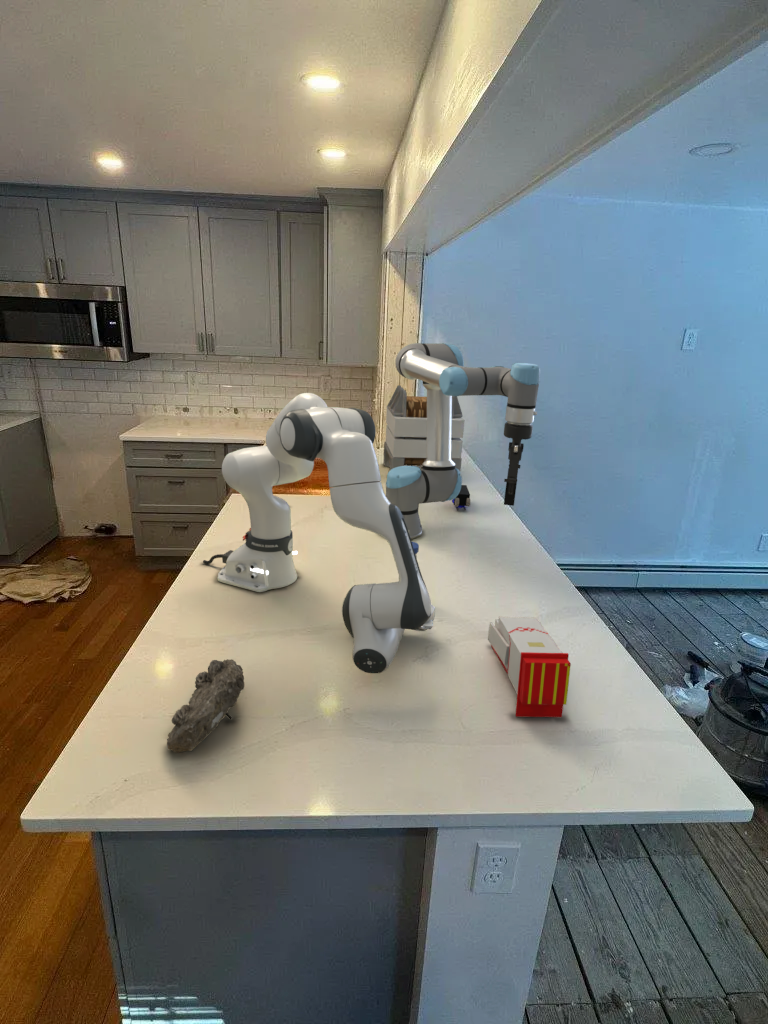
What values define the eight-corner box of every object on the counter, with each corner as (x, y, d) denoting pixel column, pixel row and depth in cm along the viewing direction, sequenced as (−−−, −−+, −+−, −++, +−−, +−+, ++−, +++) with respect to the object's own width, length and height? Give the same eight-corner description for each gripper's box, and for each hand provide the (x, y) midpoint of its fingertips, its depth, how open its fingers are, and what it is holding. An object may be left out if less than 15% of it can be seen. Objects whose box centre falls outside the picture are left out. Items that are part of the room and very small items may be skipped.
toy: (534, 602, 136) (579, 659, 107) (529, 653, 139) (572, 723, 110) (484, 601, 136) (516, 658, 107) (480, 652, 139) (510, 722, 109)
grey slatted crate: (382, 463, 289) (386, 382, 275) (445, 464, 293) (451, 384, 279) (390, 482, 257) (394, 392, 243) (460, 483, 261) (468, 394, 247)
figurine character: (470, 515, 225) (465, 499, 238) (472, 498, 221) (467, 483, 235) (453, 515, 224) (449, 499, 238) (455, 497, 221) (451, 482, 234)
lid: (400, 554, 149) (400, 548, 148) (397, 546, 153) (398, 541, 153) (420, 554, 149) (420, 548, 149) (416, 546, 154) (417, 541, 154)
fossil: (192, 660, 117) (244, 628, 112) (224, 691, 120) (276, 661, 115) (142, 746, 98) (202, 712, 93) (182, 779, 101) (242, 748, 96)
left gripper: (432, 618, 127) (440, 590, 140) (344, 605, 131) (360, 579, 144) (430, 642, 129) (438, 613, 142) (344, 628, 133) (359, 601, 146)
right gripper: (533, 433, 141) (522, 513, 148) (533, 416, 164) (523, 486, 171) (502, 430, 142) (493, 509, 150) (506, 413, 165) (498, 483, 172)
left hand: (398, 596), depth 143 cm, fingers open, 8 cm apart
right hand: (509, 497), depth 160 cm, fingers open, 13 cm apart
